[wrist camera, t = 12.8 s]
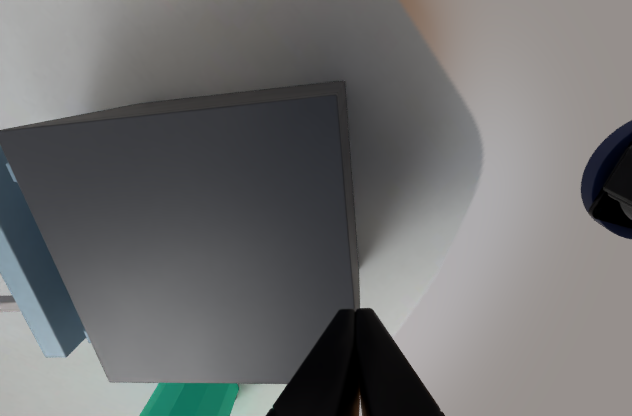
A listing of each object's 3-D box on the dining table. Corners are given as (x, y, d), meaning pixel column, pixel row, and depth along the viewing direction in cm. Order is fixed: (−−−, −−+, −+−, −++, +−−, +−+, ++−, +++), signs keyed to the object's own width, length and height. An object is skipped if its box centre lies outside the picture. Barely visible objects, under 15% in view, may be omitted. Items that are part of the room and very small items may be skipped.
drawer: (59, 281, 24) (-44, 358, 18) (-10, 131, 20) (-174, 163, 14) (279, 273, 22) (248, 357, 16) (248, 104, 18) (192, 126, 12)
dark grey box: (190, 276, 24) (108, 383, 16) (139, 103, 19) (-8, 131, 12) (359, 270, 22) (361, 385, 14) (345, 80, 18) (337, 94, 10)
